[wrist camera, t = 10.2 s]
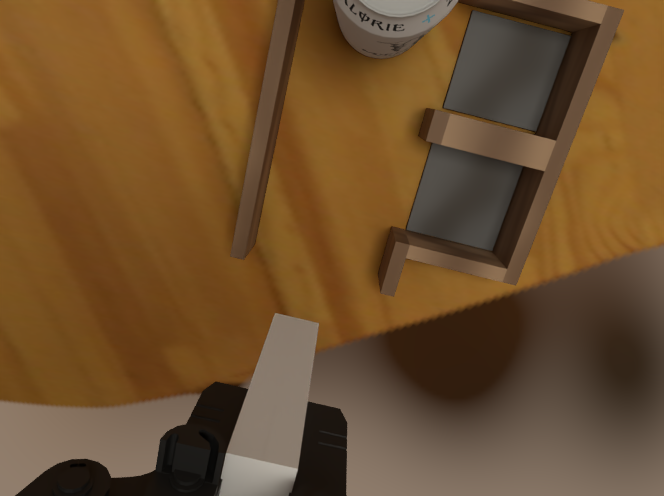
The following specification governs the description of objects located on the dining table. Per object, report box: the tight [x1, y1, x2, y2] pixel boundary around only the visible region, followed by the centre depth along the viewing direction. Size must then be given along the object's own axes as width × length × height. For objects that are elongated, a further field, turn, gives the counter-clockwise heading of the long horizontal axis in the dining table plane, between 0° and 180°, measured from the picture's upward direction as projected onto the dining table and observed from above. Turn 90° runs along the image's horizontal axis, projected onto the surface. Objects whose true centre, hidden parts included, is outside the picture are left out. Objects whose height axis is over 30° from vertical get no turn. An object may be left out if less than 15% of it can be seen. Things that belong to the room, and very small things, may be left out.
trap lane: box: [230, 0, 624, 297], centre depth 33 cm, size 20×24×4 cm
